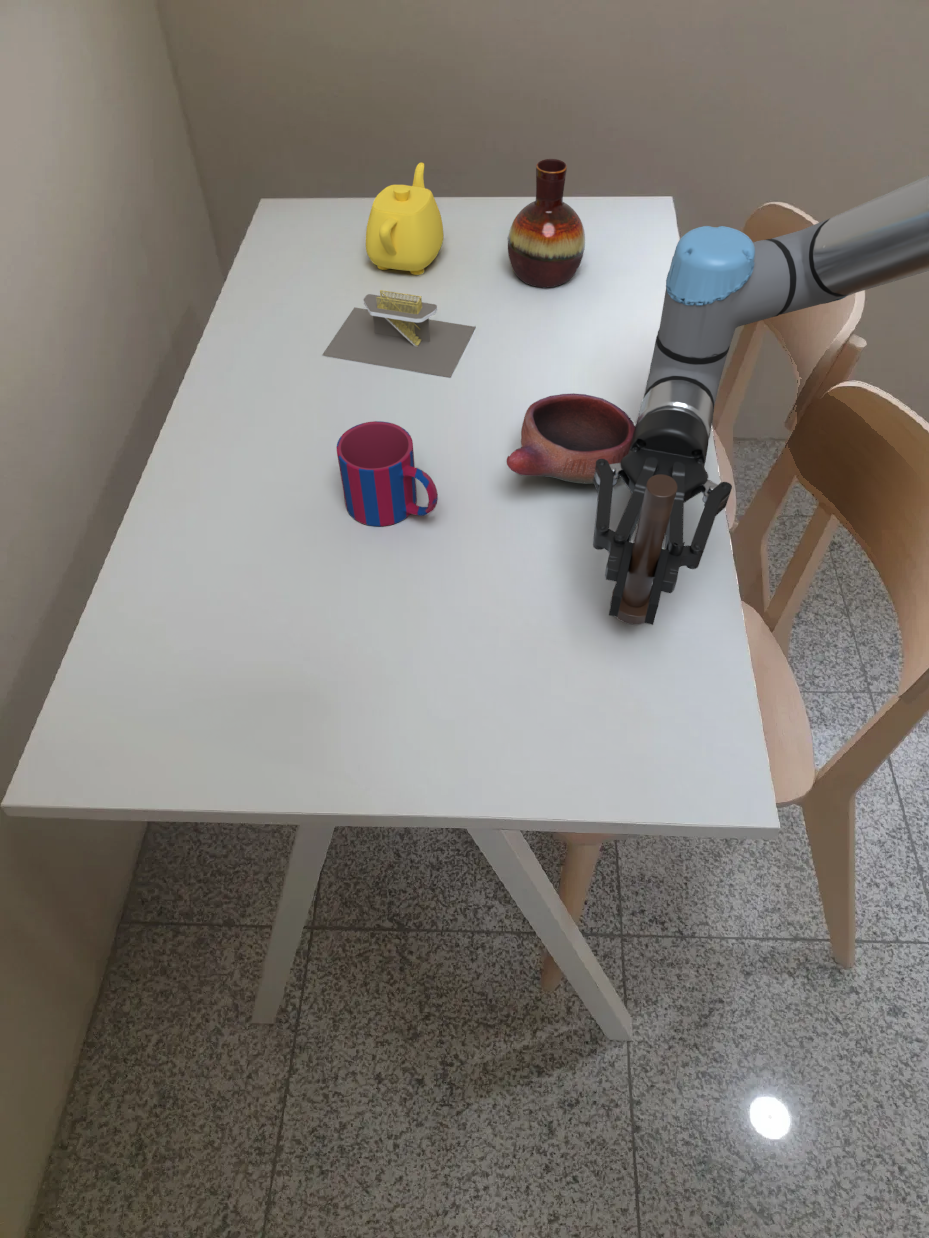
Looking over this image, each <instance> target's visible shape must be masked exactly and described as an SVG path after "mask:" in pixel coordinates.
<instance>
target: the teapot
mask: <svg viewBox="0 0 929 1238" xmlns="http://www.w3.org/2000/svg"><path fill="white" fill-rule="evenodd" d="M424 174H425V163H424V162H419V163H418V164H417V165H416V167H415V169H414V175H413V180H412V184H411V185H407V184H390V185H388V186H386V187H385V188H383V189H382V190H381V191H380V192H379V193H378V194H377V195H376V196H375V198H374V200H373V202H372V205H371V207H370V212H369V215H368V220H367V224H366V230H365V251H366V254H367V256H368V258H369V260H370V261H371V262H372V263H373V264H374V265H375V266H376V267H377V269H379V270H381V271H387V270H390V269H392V270H397V271H406V272H410V274H412V275H414V276H419V275H423V274H424V273H425V268H427V267H428V266H430V264H431V263H433V262H434V260H435V258H437V256H438V254H439V252H440V250H441V249H442V246H443V242H444V235H445V234H444V225H443V218H442V215H441V212H440V209H439V206H438V204H437V200H436V199H435V196H434V194H433V192H432V191H431V190H430V189H429V188H426V187H425V181H424V179H425V178H424Z"/></svg>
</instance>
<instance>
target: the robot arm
mask: <svg viewBox="0 0 929 1238" xmlns="http://www.w3.org/2000/svg"><path fill="white" fill-rule="evenodd" d="M927 272H929V174H928V175H926V176H923V177H921V178H919V179H917V180H914V181H911V182H910V183H907V184H905V185H903V186H900V187H898V188H896V189H894V190H892V191H888V192H887V193H884V194H882V195H880V196H877V197H875V198H873V199H871V200H869V201H866V202H863V203H861V204H859V205H856V206H854V207H852V208H850V209H848V210H845V211H843V212H840V213H838V214H835V215H834V216H832V217H830V218H827V219H824V220H822V221H820V222H816V223H815V224H813V225H810V226H808V227H806V228H803V229H800V230H797V231H793V232H790V233H786V234H783V235H779V236H776V237H772V238H765V239H761V240H757V241H753V240H752V239H751V237H749V236H748V235H747V234H745V233H744V232H743V231H740V230H739V229H736V228H733V227H729V226H724V225H719V226H718V227H714V226H710V225H703V226H699V227H696V228H693V229H690V230H688V231H687V232H686V233H684V235H683V236H681V237H680V239H678V242H677V243H676V246H675V249H674V252H673V256H672V258H671V262H670V266H669V270H668V272H667V274H666V280H665V290H664V291H665V292H664V298H663V306H662V309H661V310H662V311H661V317H660V323H659V328H658V330H657V334H656V338H655V342H654V347H653V352H652V356H651V362H650V367H649V372H648V375H647V380H646V384H645V389H644V393H643V397H642V401H641V403H640V407H639V410H638V415H637V419H636V422H635V425H634V426H635V430H634V434H633V438H632V441H631V445H630V449H629V453H628V454H627V455H626V456H625V457H623V458H622V460H621V463H616V464H609V463H608V461H607V460H605V459H598V460H597V461H596V465H595V472H594V478H593V482H594V483H593V485H594V487H595V490H596V491H597V492H596V493H597V500H596V501H597V502H596V509H595V518H594V519H595V520H594V530H593V538H592V539H593V540H592V546H593V548H594V549H596V550H599V551H600V550H605V551H607V552H608V558H607V563H606V566H605V572H604V573H605V574H604V578H605V580H606V581H611V582H615V584H614V588H615V589H614V588H613V589H614V593H613V597H612V596H611V597H612V602H611V601H610V602H611V605H610V608H609V612H608V616H610V617H615V618H617V617H618V612H619V608H620V604H621V599H622V595H623V591H624V587H625V582H626V578H627V574H628V569H629V565H630V560H631V556H632V549H633V545H634V542H631V541H632V537H633V535H634V533H635V530H636V529H637V526H638V522H639V517H640V512H641V508H642V503H643V498H644V494H645V489H646V484H647V481H648V480H649V479H650V478H651V477H652V476H654V475H658V474H663V475H667V476H670V477H672V478H673V479H674V480H675V481H676V483H677V492H676V496H675V500H674V503H673V507H672V511H671V515H670V519H669V522H668V526H667V530H666V534H665V537H664V548H662V549H661V553H660V556H659V559H658V563H657V567H656V571H655V574H654V579H653V583H652V588H651V593H650V598H649V603H648V608H647V613H646V618H645V622H644V623H643V624H648V625H652V626H653V625H654V624H655V619H656V616H657V613H658V609H659V605H660V599H661V595H662V593H666V594H673V592H674V591H675V588H676V584H677V582H678V577H679V571H680V568H682V567H686V568H687V569H690V570H696V569H698V567H699V566H700V563H701V560H702V557H703V554H704V551H705V549H706V545H707V543H708V540H709V537H710V534H711V532H712V528H713V525H714V523H715V520H716V517H717V516H718V515H719V514H720V513H721V512H722V511H723V510H724V509H725V508H726V507H727V505H728V501H729V498H730V495H731V492H732V489H733V485H732V484H731V483H730V482H728V481H721V482H720V483H719V484H717V483H715V482H714V481H712V480H710V479H709V473H708V471H707V470H706V467H705V465H706V460H707V454H708V450H709V449H708V448H709V443H710V442H709V441H710V437H711V431H712V425H713V421H714V412H715V405H716V400H717V397H718V392H719V391H718V390H719V387H720V382H721V379H722V375H723V371H724V368H725V364H726V360H727V358H728V357H727V356H728V353H729V351H730V347H731V345H732V341H733V338H734V335H735V332H736V329H737V328H739V327H742V326H747V325H750V324H753V323H757V322H760V321H761V322H762V321H764V320H767V319H771V318H775V317H778V316H781V315H785V314H789V313H792V312H793V313H794V312H796V311H800V310H804V309H808V308H811V307H815V306H819V305H826V304H829V303H833V302H837V301H841V300H843V299H845V298H847V297H849V296H851V295H854V294H856V293H860V292H863V291H866V290H870V289H872V288H877V287H881V286H883V285H887V284H890V283H893V282H898V281H900V280H904V279H907V278H912V277H914V276H917V275H920V274H921V275H922V274H924V273H927ZM619 478H621V480H622V481H623V483H624V485H626V487H627V489H628V490H629V491H630V493H631V495H630V497H629V500H628V502H627V504H626V507H625V509H624V512H623V514H622V516H621V518H620V521H619V523H618V525H617V527H616V529H615V530H613V529H610V524H611V523H610V522H611V513H612V512H611V509H612V501H613V488H614V486H615V485H617V484H618V479H619ZM701 493H702V499H701V500H702V503H704V504H703V509H702V512H701V514H700V518H699V520H698V522H697V526H696V529H695V532H694V534H693V537H692V539H691V543H690V545H685V544H686V543H685V541H684V512H685V511H684V507H685V506H684V505H685V503H686V502H688V501H689V500H691V499H692V498H694V497H696V496H697V495H699V494H701Z"/></svg>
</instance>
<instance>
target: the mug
mask: <svg viewBox="0 0 929 1238" xmlns="http://www.w3.org/2000/svg"><path fill="white" fill-rule="evenodd" d="M414 454H415V453H414V442H413V439H412V435H410V432H409V431H407V430H406V429H405V428H404V427H402V426H400V425H398V424H396V423H393V422H389V421H381V420H379V421H378V420H375V421H366V422H361V423H360V424H359V423H358V424H356V425H354V426H352V427H350V428H349V429H347V430H346V431H344V433H342V435H341V436H340V437H339V438H338V440H337V443H336V456H337V461H338V467H339V474H340V479H341V486H342V492H343V497H344V504H345V508H346V511H347V513H348V514H349V516H351V518H352V519H354V520H355V521H357V522H359V523H361V524H363V525H366V526H371V527H388V526H392V525H395V524H398V523H400V522H402V521H404V520H405V519H407V518H408V517H410V515H413V516H419V517H420V516H427V515H428V514H430V513H431V512H432V511H434V510H435V508H436V507H437V505H438V500H439V497H438V490H437V486H436V485H435V482H434V480H433V479H432V477H431V476H430V475H429V474H428V473H427V472H425V471H424V470H422V469H420V468H418V467H415V455H414ZM416 480H418V481H419V482H420V483H421V484H422V485H423V487H424V489H425V490H426V494H427V498H428V503H427V506H420V505H417V503H418V501H417V500H418V495H417V482H416Z"/></svg>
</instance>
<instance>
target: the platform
mask: <svg viewBox="0 0 929 1238" xmlns="http://www.w3.org/2000/svg"><path fill="white" fill-rule="evenodd" d="M363 305H364V306H365V308H360V307H353V309H352V310H351V312H350V313H349V315H348V316H347V317H346V319H345V320H344V322H343V324H341V326H340V328H339V329H338V331H337V332H336V334H335V335H334V337H333V338H332V340H330V343H329V344H328V345H327V346H326V348H325V349H324V351H323V353H322V354H321V355H322V356H324V357H329V358H336V359H341V360H346V361H353V362H359V363H365V364H371V365H376V366H381V367H387V368H394V369H399V370H403V371H404V370H405V371H410V372H417V373H422V374H428V375H434V376H439V377H445V378H451V377H452V375H453V373H454V372H455V369H456V368H457V365H458V364H459V362H460V359H461V358H462V356H463V353H464V351H465V349H466V348H467V346H468V344H469V342H470V340H471V337H472V335H473V334H474V332H475V330H476V326H473V325H466V324H461V323H455V322H454V323H453V322H449V321H442V320H436V319H430V318H431V317H433V316H434V315H436V313H437V311H438V305H437V304H435V303H430V302H423V300H422V296H421V295H415V294H408V293H403V292H395V291H390V290H383V289H380V290H379V294H372V293H368V294H366V295H365V296H364V298H363Z"/></svg>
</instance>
